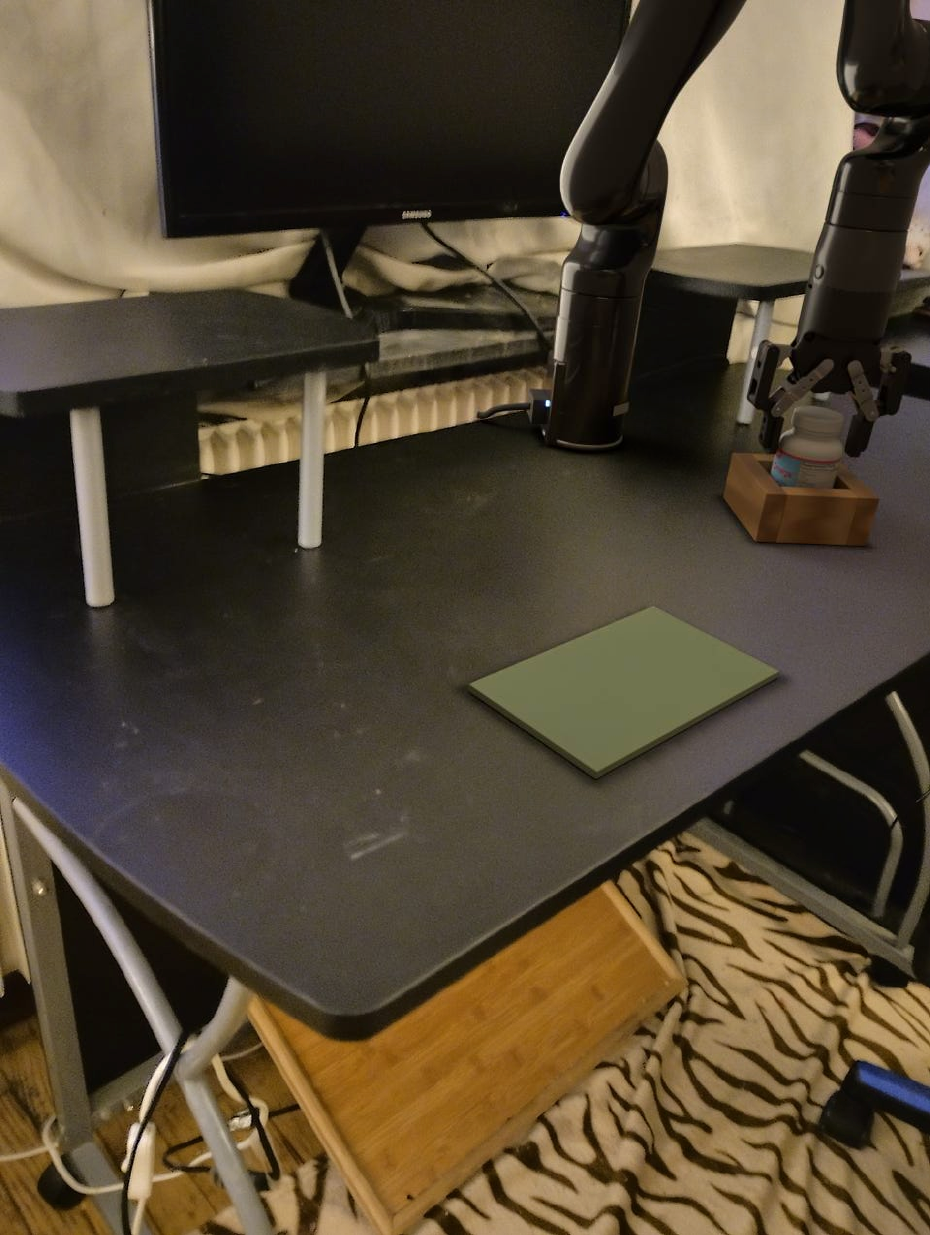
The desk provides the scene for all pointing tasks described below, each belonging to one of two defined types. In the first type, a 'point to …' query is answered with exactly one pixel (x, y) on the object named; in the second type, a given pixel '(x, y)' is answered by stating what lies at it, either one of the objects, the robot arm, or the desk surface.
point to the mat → (622, 688)
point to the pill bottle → (809, 449)
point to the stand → (798, 505)
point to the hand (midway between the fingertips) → (809, 453)
